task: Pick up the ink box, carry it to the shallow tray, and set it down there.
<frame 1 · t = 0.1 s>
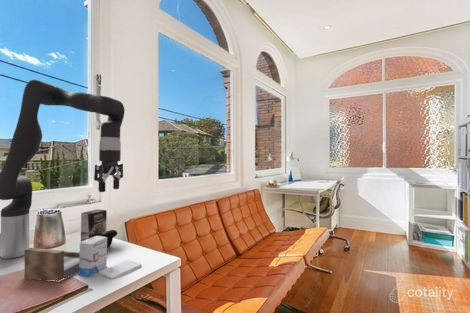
hand: (109, 190, 100), 29 cm above the table, tool pointing down, fingers open, 8 cm apart
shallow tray: (59, 271, 94), on the table
ink box: (93, 271, 95), on the table
controller: (103, 251, 114), on the table
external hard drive: (120, 272, 95), on the table
coffee box: (93, 245, 121), on the table
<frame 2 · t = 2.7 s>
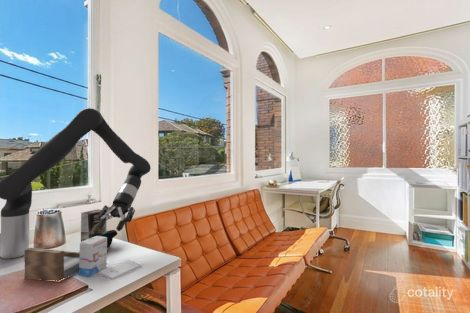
hand: (108, 229, 103), 13 cm above the table, tool tilted 45°, fingers open, 8 cm apart
nothing on the table moved.
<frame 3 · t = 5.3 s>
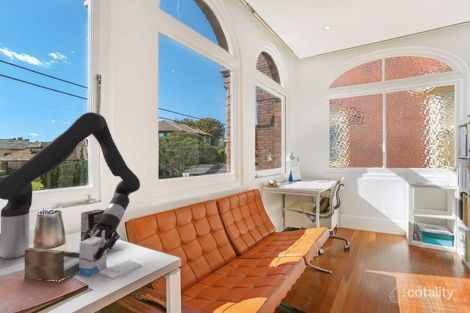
hand: (89, 258, 93), 5 cm above the table, tool tilted 45°, fingers closed on ink box, 5 cm apart
ink box: (93, 271, 95), on the table, touching gripper
everything else where it was.
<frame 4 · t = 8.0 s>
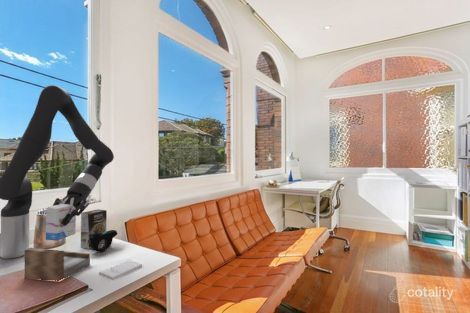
hand: (57, 223, 93), 18 cm above the table, tool tilted 45°, fingers closed on ink box, 5 cm apart
ink box: (61, 237, 95), point 12 cm above the table, touching gripper
everything else where it was.
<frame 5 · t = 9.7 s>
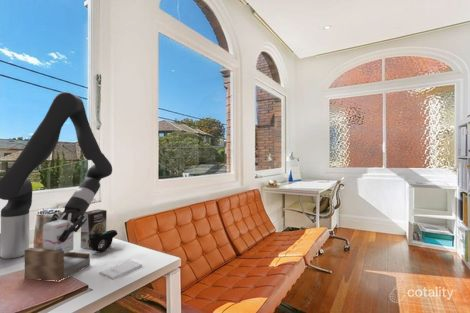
hand: (54, 240, 92), 12 cm above the table, tool tilted 45°, fingers closed on ink box, 5 cm apart
ink box: (59, 253, 94), point 6 cm above the table, touching gripper
everything else where it was.
when the fingers open (9 cm above the table, at t = 10.8 s): ink box drops 1 cm, resting on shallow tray.
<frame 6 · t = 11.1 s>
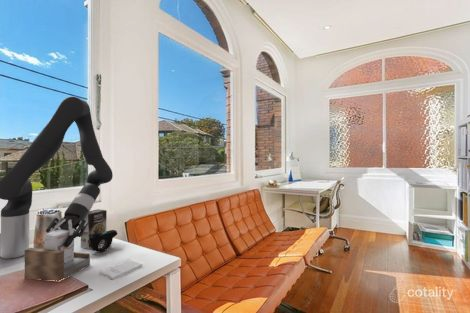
hand: (55, 245, 93), 10 cm above the table, tool tilted 45°, fingers open, 8 cm apart
ink box: (59, 263, 94), point 3 cm above the table, touching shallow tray
everything else where it was.
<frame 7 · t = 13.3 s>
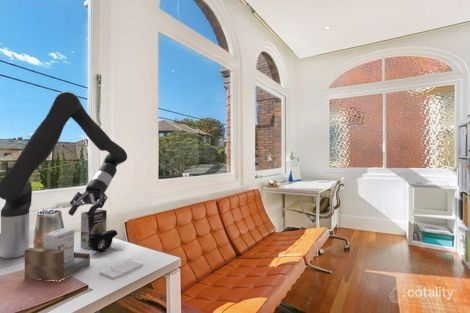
hand: (79, 215, 103), 19 cm above the table, tool tilted 45°, fingers open, 8 cm apart
nothing on the table moved.
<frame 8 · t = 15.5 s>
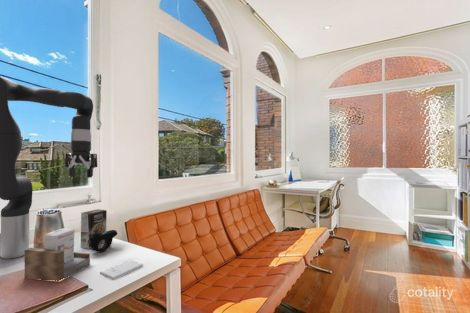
hand: (81, 177, 112), 33 cm above the table, tool pointing down, fingers open, 8 cm apart
nothing on the table moved.
at the end: ink box 0.5 cm off-centre on the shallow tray, point 2.8 cm above the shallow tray's base; ink box tilted 0°; the gripper is holding nothing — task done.
